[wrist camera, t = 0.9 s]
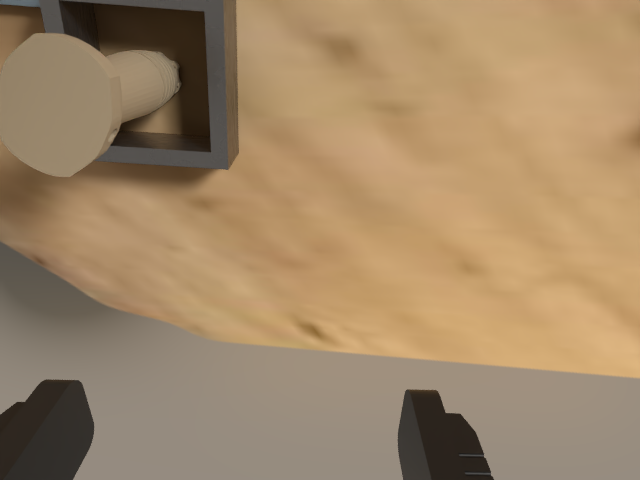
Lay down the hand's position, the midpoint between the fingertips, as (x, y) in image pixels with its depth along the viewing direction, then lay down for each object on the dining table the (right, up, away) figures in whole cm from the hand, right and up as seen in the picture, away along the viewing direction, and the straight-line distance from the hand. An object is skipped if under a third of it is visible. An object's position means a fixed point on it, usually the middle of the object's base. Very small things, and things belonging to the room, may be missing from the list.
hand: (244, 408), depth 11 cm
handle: (-10, +17, +22) cm, 30 cm away
